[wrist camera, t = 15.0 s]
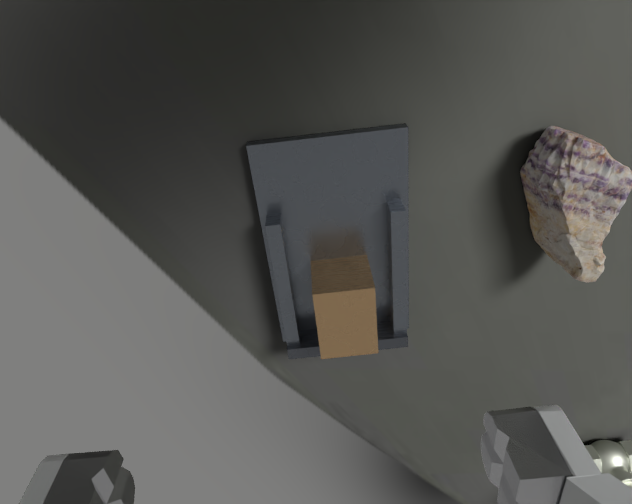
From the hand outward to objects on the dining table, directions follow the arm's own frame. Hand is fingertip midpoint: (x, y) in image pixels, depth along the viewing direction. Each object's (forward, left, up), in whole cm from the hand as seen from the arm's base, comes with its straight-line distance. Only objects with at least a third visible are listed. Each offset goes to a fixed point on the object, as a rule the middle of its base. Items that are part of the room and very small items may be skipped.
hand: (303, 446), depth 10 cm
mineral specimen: (-21, +8, -30) cm, 37 cm away
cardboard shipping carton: (-2, +16, -28) cm, 33 cm away
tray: (-2, +12, -29) cm, 32 cm away
